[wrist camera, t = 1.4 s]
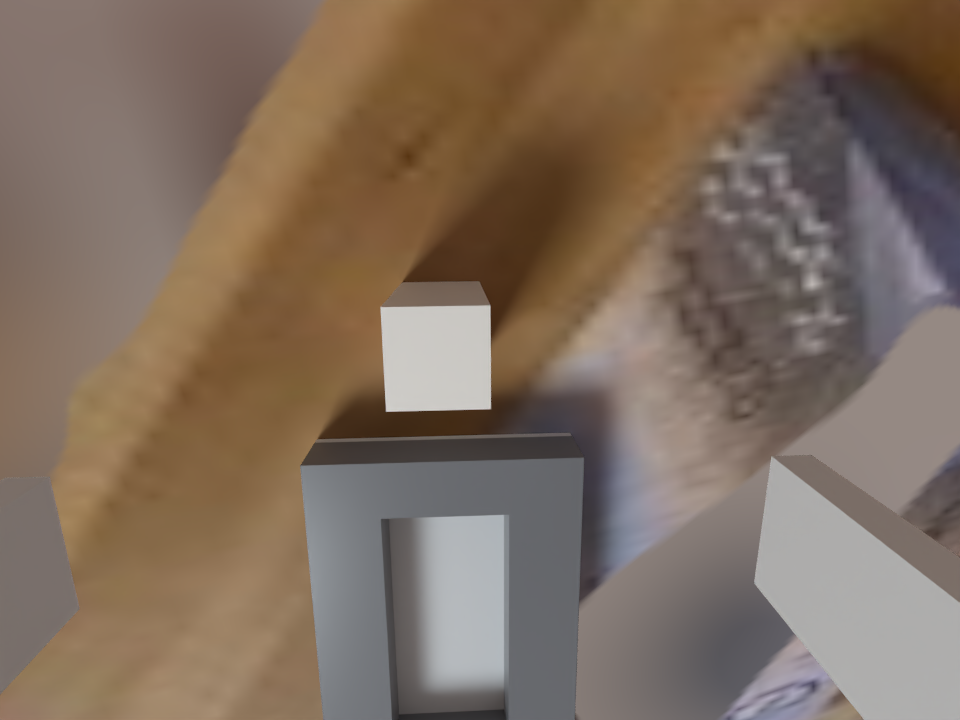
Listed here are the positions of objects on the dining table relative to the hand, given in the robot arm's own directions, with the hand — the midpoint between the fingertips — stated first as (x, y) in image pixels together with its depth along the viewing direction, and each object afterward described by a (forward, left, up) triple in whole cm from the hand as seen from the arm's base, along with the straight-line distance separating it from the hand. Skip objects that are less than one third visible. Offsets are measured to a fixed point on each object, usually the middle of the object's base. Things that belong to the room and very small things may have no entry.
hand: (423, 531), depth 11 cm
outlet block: (-16, 0, -20) cm, 26 cm away
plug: (+1, 0, -20) cm, 20 cm away
